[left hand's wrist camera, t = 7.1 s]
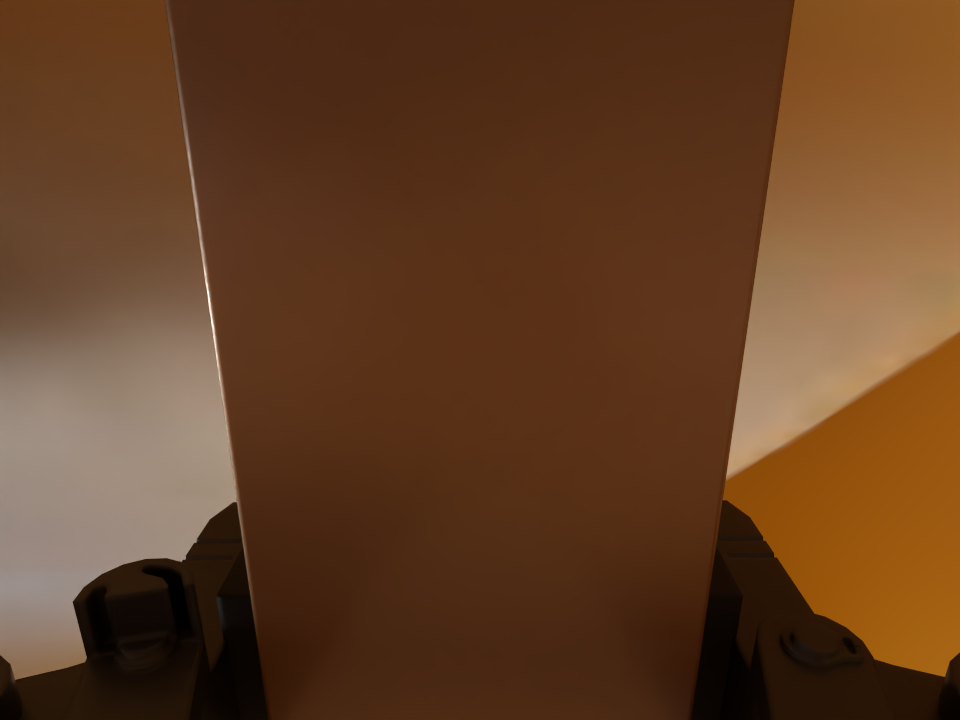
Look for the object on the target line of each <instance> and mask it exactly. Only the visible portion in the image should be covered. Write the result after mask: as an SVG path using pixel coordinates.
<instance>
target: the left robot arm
mask: <svg viewBox="0 0 960 720" xmlns="http://www.w3.org/2000/svg"><path fill="white" fill-rule="evenodd" d="M73 605H74V609H75V613H76V617H77V620H78V624H79V628H80V632H81V636H82V640H83V644H84V648H85V652H86V655H87V659H86V662H84V663H81V664H78V665H75V666H71V667H68V668H64V669H60V670H56V671H51V672H47V673H43V674H38V675H34V676H30V677H26V678H21V679H17V680H15V678H14V675H13V671H12V668H11V665H10V664H9V663H8V662H7V661H6V660H5V659H4V658H3V657H2V656H0V720H268V714H267V707H266V701H265V694H264V687H263V680H262V673H261V666H260V659H259V652H258V645H257V638H256V631H255V624H254V617H253V610H252V603H251V596H250V589H249V582H248V576H247V569H246V562H245V555H244V548H243V541H242V534H241V527H240V520H239V513H238V506H237V502H233V503H232V504H230V505H229V506H228V507H226V508H225V509H224V510H222V511H221V512H220V513H218V514H217V515H215V516H214V517H213V518H211V519H210V520H209V522H208V523H207V525H206V526H205V528H204V529H203V531H202V532H201V534H200V535H199V537H198V538H197V543H194V544H193V546H192V547H191V549H190V550H189V552H188V553H187V555H186V560H183V561H182V562H179V561H175V560H171V559H167V558H163V559H144V560H140V561H136V562H132V563H128V564H123V565H121V566H119V567H117V568H115V569H112V570H110V571H108V572H106V573H104V574H101V575H100V576H99V577H97V578H96V579H95V580H93V581H92V582H90V583H89V584H88V585H86V586H85V587H84V588H83V589H82V590H81V592H80V593H79V594H78V596H77V597H76V598H75V600H74V601H73ZM691 720H960V653H959V654H958V655H957V656H955V657H954V658H953V659H952V660H951V661H950V663H949V666H948V669H947V673H946V676H945V677H942V676H938V675H933V674H929V673H925V672H921V671H916V670H912V669H908V668H904V667H899V666H895V665H891V664H888V663H885V662H881V661H878V660H875V659H874V658H873V656H872V655H871V653H870V652H869V650H868V649H867V647H866V645H865V644H864V642H863V641H862V640H861V639H859V638H858V637H857V636H856V635H855V634H853V633H852V632H851V631H850V630H849V629H847V628H846V627H844V626H842V625H840V624H838V623H837V622H835V621H832V620H831V619H829V618H827V617H824V616H821V615H817V614H814V612H813V611H812V610H811V608H810V607H809V605H808V604H807V602H806V601H805V599H804V598H803V596H802V595H801V593H800V592H799V590H798V589H797V587H796V586H795V584H794V583H793V581H792V580H791V578H790V577H789V575H788V574H787V572H786V571H785V569H784V568H783V566H782V565H781V563H780V562H779V560H778V559H777V558H775V557H774V553H773V551H772V550H771V548H770V547H769V545H768V544H767V542H766V541H763V536H762V535H761V533H760V532H759V530H758V529H757V527H756V526H755V524H754V523H753V521H752V520H751V518H750V517H749V516H747V515H746V514H745V513H743V512H742V511H741V510H739V509H738V508H736V507H735V506H734V505H732V504H731V503H730V502H728V501H727V500H723V501H722V508H721V515H720V522H719V529H718V536H717V542H716V549H715V556H714V563H713V570H712V577H711V584H710V591H709V598H708V605H707V612H706V619H705V626H704V633H703V640H702V647H701V654H700V661H699V668H698V675H697V682H696V689H695V696H694V703H693V709H692V716H691Z"/></svg>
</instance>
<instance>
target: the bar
mask: <svg viewBox="0 0 960 720" xmlns="http://www.w3.org/2000/svg"><path fill="white" fill-rule="evenodd" d="M165 6H166V13H167V20H168V27H169V34H170V41H171V48H172V55H173V62H174V68H175V75H176V82H177V89H178V96H179V103H180V110H181V117H182V124H183V131H184V138H185V145H186V152H187V159H188V166H189V173H190V180H191V187H192V193H193V200H194V207H195V214H196V221H197V228H198V235H199V242H200V249H201V256H202V263H203V270H204V277H205V284H206V291H207V298H208V305H209V312H210V319H211V325H212V332H213V339H214V346H215V353H216V360H217V367H218V374H219V381H220V388H221V395H222V402H223V409H224V416H225V423H226V430H227V437H228V444H229V450H230V457H231V464H232V471H233V478H234V485H235V492H236V499H237V506H238V513H239V520H240V527H241V534H242V541H243V548H244V555H245V562H246V569H247V576H248V582H249V589H250V596H251V603H252V610H253V617H254V624H255V631H256V638H257V645H258V652H259V659H260V666H261V673H262V680H263V687H264V694H265V701H266V707H267V714H268V720H691V716H692V709H693V703H694V696H695V689H696V682H697V675H698V668H699V661H700V654H701V647H702V640H703V633H704V626H705V619H706V612H707V605H708V598H709V591H710V584H711V577H712V570H713V563H714V556H715V549H716V542H717V536H718V529H719V522H720V515H721V508H722V501H723V494H724V487H725V480H726V473H727V466H728V459H729V452H730V445H731V438H732V431H733V424H734V417H735V410H736V403H737V396H738V389H739V382H740V376H741V369H742V362H743V355H744V348H745V341H746V334H747V327H748V320H749V313H750V306H751V299H752V292H753V285H754V278H755V271H756V264H757V257H758V250H759V243H760V236H761V229H762V222H763V215H764V209H765V202H766V195H767V188H768V181H769V174H770V167H771V160H772V153H773V146H774V139H775V132H776V125H777V118H778V111H779V104H780V97H781V90H782V83H783V76H784V69H785V62H786V55H787V48H788V42H789V35H790V28H791V21H792V14H793V7H794V0H165Z"/></svg>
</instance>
